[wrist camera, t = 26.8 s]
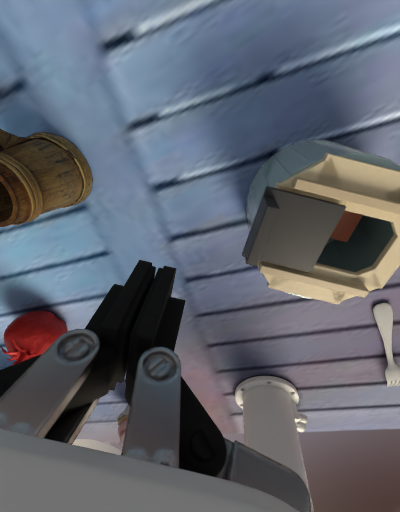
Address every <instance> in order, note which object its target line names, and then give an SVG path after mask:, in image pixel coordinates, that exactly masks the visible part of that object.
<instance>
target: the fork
mask: <svg viewBox="0 0 400 512" xmlns="http://www.w3.org/2000/svg"><path fill="white" fill-rule="evenodd" d="M373 312H374V316H375V320H376V322H377V325H378V328H379V330H380V333H381V336H382V339H383V342H384V347H385V351H386V356H387V360H388V367H387V369H386V370H385V375H386V379H387V387H388V386H390V384H391V380H392V384H391V386H396V385H397V384H398V383H399V384H398V385H397V386H399V385H400V382H399V380H400V367H399V366H398V365H396V364H395V362H394V359H393V355H392V325H393V312H392V307H391V305H390V304H388V303H380V304H377V305H376V306H375V307H374V309H373ZM395 380H396V383H395ZM394 383H395V384H394ZM391 386H390V387H391Z"/></svg>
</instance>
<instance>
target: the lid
mask: <svg viewBox="0 0 400 512" xmlns="http://www.w3.org/2000/svg"><path fill="white" fill-rule="evenodd" d="M274 188H277V189H281V190H285V191H289V192H293V193H298V194H302V195H306V196H310V197H314V198H318V199H322V200H326V201H330V202H334V203H338V204H342V205H345V206H346V209H345V210H346V211H350V212H354V213H358V214H362V215H366V216H370V217H374V218H378V219H382V220H386V221H390V223H391V226H392V229H393V232H394V235H393V237H392V238H391V239H390V241H389V242H388V244H387V245H386V247H385V248H384V250H383V251H382V252H381V254H380V255H379V257H378V258H377V260H376V261H375V263H374V264H373V266H370V267H368V268H365V269H362V270H360V271H357V272H352V271H348V270H344V269H340V268H336V267H331V266H327V265H323V264H319V263H316V264H315V266H314V268H313V269H312V271H311V273H310V272H306V271H301V270H297V269H293V268H289V267H285V266H281V265H277V264H273V263H268V262H264V261H260V260H259V263H258V266H259V267H258V268H259V272H261V273H263V275H264V276H265V278H266V279H267V281H268V283H267V287H268V288H272V289H276V290H280V291H284V292H288V293H293V294H297V295H301V296H305V297H309V298H313V299H317V300H322V301H326V302H330V303H334V304H339V303H340V302H341V301H343V300H346V299H349V298H351V297H354V296H360V297H364V298H365V297H366V296H367V294H368V293H369V291H371V290H374V289H377V288H383V286H384V285H385V284H386V282H387V281H388V280H389V278H390V277H391V276H392V274H393V273H394V272H395V270H396V269H397V268H398V267H399V265H400V171H398V170H394V169H390V168H386V167H382V166H378V165H374V164H370V163H366V162H362V161H358V160H354V159H350V158H346V157H342V156H338V155H334V154H330V153H325V155H324V158H323V159H322V160H320V161H319V162H317V163H315V164H313V165H311V166H310V167H308V168H306V169H304V170H302V171H301V172H299V173H297V174H295V175H293V176H291V177H290V178H288V179H286V180H284V181H282V182H281V183H279V182H276V185H275V187H274Z"/></svg>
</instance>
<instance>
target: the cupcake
mask: <svg viewBox="0 0 400 512" xmlns="http://www.w3.org/2000/svg"><path fill="white" fill-rule="evenodd" d="M129 410H130V406H129V404H128V405H127V407H126V408H125V410H124V411H123V412H122V413H121V414H120V415H119V416H118V417H117V419H118V421H117V424H118V425H119V428H118V433H119V437H120V443H121V446H122V448H123V442H124V437H125V431H126V426H127V421H128V415H129Z"/></svg>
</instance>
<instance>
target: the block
mask: <svg viewBox="0 0 400 512" xmlns="http://www.w3.org/2000/svg"><path fill="white" fill-rule="evenodd" d="M362 216H363V215H362V214H358V213H354V212H350V211H346V210H345V211H344V212H343V214H342V216H341V218H340V220H339V222H338V224H337V225H336V227H335V229H334V231H333V233H332V235H331V236H330V238H331V239H335V240H339V241H343V242H347V241H348V240H349V238H350V236H351V235H352V233H353V231H354V230H355V228H356V226H357V225H358V223H359V221H360V220H361V218H362Z"/></svg>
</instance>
